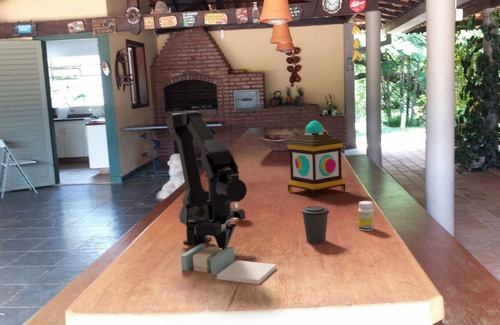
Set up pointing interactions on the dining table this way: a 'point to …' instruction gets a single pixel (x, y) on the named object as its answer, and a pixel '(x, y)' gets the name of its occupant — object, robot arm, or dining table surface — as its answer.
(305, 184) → the decorative lantern
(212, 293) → the dining table surface
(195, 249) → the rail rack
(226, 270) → the ceramic tile
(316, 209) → the coffee cup
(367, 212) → the supplement bottle
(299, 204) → the dining table surface
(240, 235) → the dining table surface
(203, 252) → the maple block
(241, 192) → the robot arm
